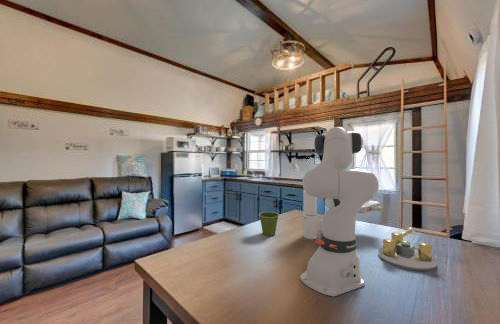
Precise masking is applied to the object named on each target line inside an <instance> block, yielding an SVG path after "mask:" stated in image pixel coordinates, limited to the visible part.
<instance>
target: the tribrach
mask: <svg viewBox="0 0 500 324" xmlns="http://www.w3.org/2000/svg"><path fill="white" fill-rule="evenodd" d="M417 243H418V244H417V246H418V247H417V248H418V249H417V248H416V246H415V245H414V244H411V242H410V241H409V240H404V239H403V240H402V241H401V242H400V243H398V244H397V245H396V248H395V241H394V240H391V238H383V239H382V246H380V247H379V248H378V250H377V253H378V254H377V255H378V257H379V258H380V259H381V260H382V261H384V262H386V263H388V264H390V265H392V266H395V267H398V268H401V269H406V270H411V271H418V272H425V271H427V272H429V271H433V270H435V269H436V268H437V260H436V258H435V257H434V256H433V244H430V243H428V242H423V241H422V242H421V241H420V242H417Z"/></svg>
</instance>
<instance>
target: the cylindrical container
mask: <svg viewBox="0 0 500 324" xmlns="http://www.w3.org/2000/svg"><path fill="white" fill-rule="evenodd" d="M302 193H303V194H302V198H303V200H302V201H303V203H302V211H303V215H302V216H303V219H302V222H303V225H302V227H303V230H302V235H303V238H304V239H308V240H314V239H315V240H316V239H317V238H318V230H317V229H318V225H317V224H318V214H317V213H318V206H317V205H318V197H314V196H310V195H308V194H307V193H306V192H305V191H304V190H303V191H302Z"/></svg>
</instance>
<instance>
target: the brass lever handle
mask: <svg viewBox="0 0 500 324" xmlns="http://www.w3.org/2000/svg"><path fill="white" fill-rule="evenodd" d="M414 233H415V229H414V228H413V227H408V228H407V229H406V230H404V231H403V232H401V233H400V232H391V237H390V239H391V240H394V241H395V248H396V245H397V244H398V243H400V242H401V241H402V240H404V238H405V237H406V236H408V235H413V234H414Z"/></svg>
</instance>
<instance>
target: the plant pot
mask: <svg viewBox="0 0 500 324" xmlns="http://www.w3.org/2000/svg"><path fill="white" fill-rule="evenodd" d="M258 217H259V220H260V225H261V231H262V234H263V236H267V237H272V236H274V235H276V233H277V225H278V220H279V217H280V214H279V213H278V212H273V211H262V212H260V213H258Z"/></svg>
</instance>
